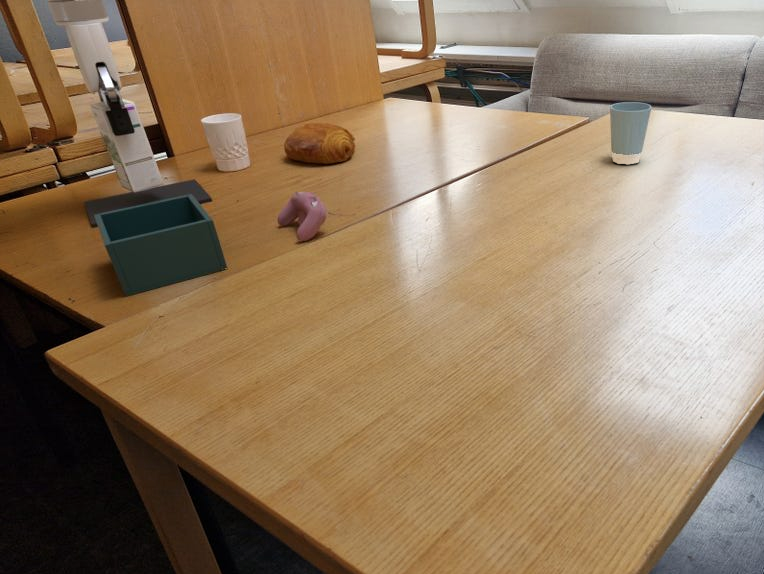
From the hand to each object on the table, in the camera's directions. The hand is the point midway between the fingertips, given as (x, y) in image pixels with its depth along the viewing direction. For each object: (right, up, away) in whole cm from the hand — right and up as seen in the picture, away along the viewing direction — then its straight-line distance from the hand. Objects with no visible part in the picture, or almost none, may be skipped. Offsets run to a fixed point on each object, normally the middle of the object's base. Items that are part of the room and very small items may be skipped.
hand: (121, 129), depth 107 cm
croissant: (+28, +4, +28) cm, 40 cm away
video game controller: (+34, -19, -7) cm, 40 cm away
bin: (+16, -26, -16) cm, 35 cm away
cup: (+91, -1, +16) cm, 93 cm away
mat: (+1, -11, +7) cm, 13 cm away
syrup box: (+1, -8, +6) cm, 10 cm away
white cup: (+10, +1, +24) cm, 26 cm away
